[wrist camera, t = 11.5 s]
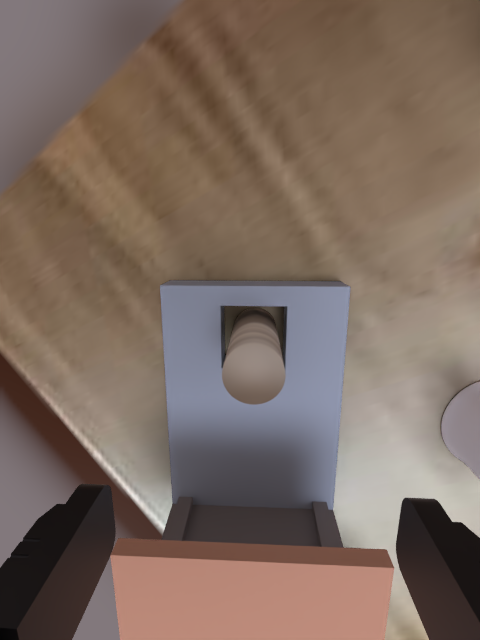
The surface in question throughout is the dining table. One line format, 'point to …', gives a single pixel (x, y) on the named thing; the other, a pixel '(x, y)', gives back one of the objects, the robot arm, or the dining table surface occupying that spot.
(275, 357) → the peg
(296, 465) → the socket board
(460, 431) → the mug
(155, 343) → the dining table surface
